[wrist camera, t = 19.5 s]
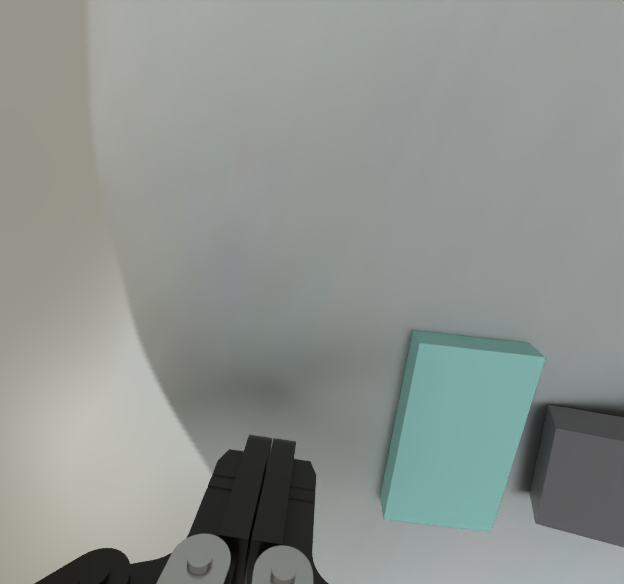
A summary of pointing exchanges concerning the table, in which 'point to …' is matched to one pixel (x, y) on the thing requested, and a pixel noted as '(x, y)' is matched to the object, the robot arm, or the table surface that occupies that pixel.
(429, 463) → the domino
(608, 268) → the table surface
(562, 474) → the domino
